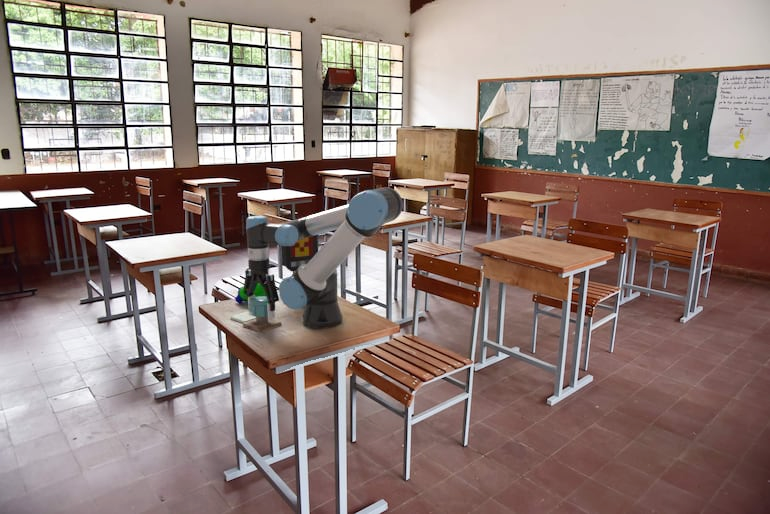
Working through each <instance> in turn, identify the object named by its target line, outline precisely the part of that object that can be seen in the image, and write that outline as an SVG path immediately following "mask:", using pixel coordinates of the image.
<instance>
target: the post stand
mask: <svg viewBox="0 0 770 514" xmlns="http://www.w3.org/2000/svg"><path fill="white" fill-rule="evenodd" d="M280 326H282V321H280V320H277V319H275V318H274V319H271V320H268V316H265V317H256V319H254V320H251V321H248V322H245V323H242V327H245V328H247V329H249V328H250V330H252V331H255V332H258V333H262V332H265V331H268V330H271V329H273V328H276V327H280Z"/></svg>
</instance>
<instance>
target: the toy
mask: <svg viewBox="0 0 770 514" xmlns="http://www.w3.org/2000/svg"><path fill="white" fill-rule="evenodd" d="M243 289H244V285H243V286H241V287H240V288H239V289H238V291H237V295H236V296H235V298H234V299H235V302H236V303H237V304H242V303H243V302H245V303H248V299H247V296H246V294H244V293H243ZM252 296H253V295H252ZM254 296H255V297H259V296H266V294H265V292H264V289H263V287H262V286H261V285H260V284H259V283H258V284H257V286H256V289H255V291H254ZM247 309H249V307H247Z"/></svg>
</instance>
